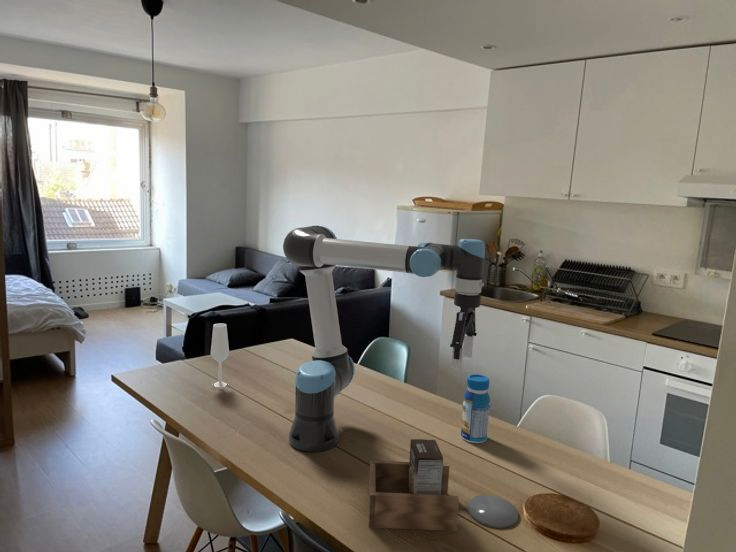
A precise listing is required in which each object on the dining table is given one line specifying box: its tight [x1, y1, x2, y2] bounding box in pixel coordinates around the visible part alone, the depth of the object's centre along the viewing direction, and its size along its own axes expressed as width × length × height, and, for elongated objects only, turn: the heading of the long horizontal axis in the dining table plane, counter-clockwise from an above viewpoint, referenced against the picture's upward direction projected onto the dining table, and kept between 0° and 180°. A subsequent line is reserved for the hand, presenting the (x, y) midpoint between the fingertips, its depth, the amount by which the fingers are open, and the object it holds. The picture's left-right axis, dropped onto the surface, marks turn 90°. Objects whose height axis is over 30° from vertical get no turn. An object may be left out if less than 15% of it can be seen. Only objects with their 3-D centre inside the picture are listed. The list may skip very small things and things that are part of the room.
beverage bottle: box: [460, 373, 491, 444], centre depth 164 cm, size 8×8×20 cm
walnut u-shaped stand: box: [368, 459, 460, 532], centre depth 126 cm, size 20×15×8 cm
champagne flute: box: [210, 323, 230, 387], centre depth 197 cm, size 7×7×24 cm
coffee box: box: [408, 438, 444, 495], centre depth 126 cm, size 9×6×16 cm
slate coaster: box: [466, 494, 519, 529], centre depth 127 cm, size 12×12×1 cm
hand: (461, 362), depth 155 cm, fingers open, 13 cm apart
